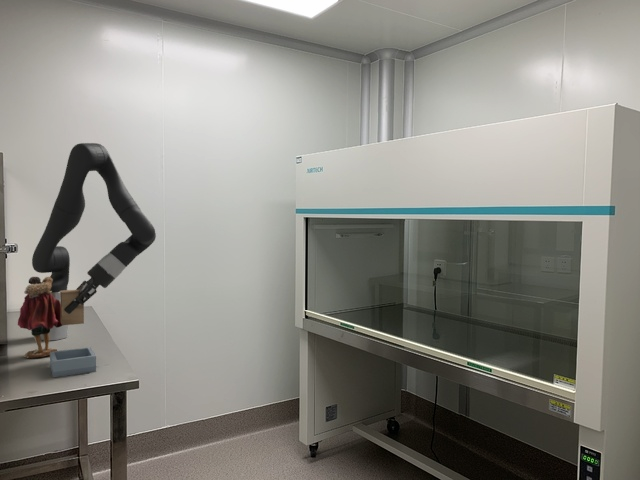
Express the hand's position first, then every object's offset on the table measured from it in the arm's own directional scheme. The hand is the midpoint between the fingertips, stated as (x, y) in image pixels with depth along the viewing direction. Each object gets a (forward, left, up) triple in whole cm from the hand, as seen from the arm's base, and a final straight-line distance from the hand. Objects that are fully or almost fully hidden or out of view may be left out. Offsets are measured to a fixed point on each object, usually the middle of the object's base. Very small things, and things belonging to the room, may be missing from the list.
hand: (65, 310), depth 152 cm
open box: (+11, +1, -16) cm, 19 cm away
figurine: (-10, -6, -16) cm, 20 cm away
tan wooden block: (0, +2, -4) cm, 5 cm away
